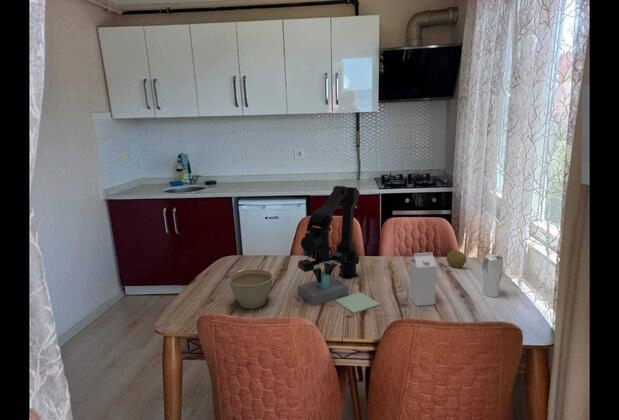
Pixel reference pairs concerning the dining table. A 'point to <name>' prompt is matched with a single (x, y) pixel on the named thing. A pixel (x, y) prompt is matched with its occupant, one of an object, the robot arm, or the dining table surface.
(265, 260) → the dining table surface
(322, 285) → the plug
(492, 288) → the silver can
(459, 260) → the olive green melon
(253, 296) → the planter bowl
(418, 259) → the milk carton
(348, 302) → the mat
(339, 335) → the dining table surface
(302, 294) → the socket block
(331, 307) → the dining table surface
